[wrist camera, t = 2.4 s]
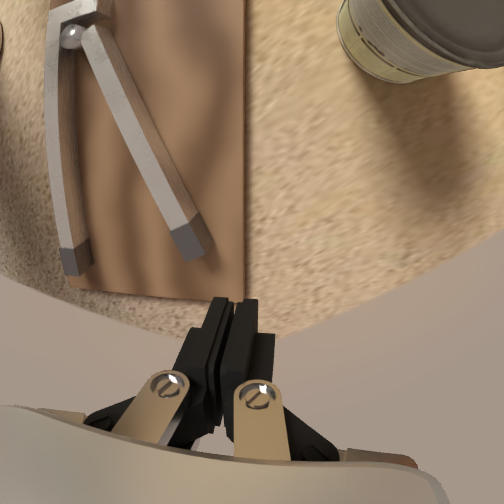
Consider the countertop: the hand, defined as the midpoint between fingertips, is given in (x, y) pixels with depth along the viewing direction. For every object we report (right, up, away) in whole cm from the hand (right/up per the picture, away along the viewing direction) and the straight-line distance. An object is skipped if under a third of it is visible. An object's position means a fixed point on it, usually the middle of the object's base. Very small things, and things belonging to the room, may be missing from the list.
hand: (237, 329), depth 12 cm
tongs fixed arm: (-16, +14, +15) cm, 26 cm away
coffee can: (+13, +23, +10) cm, 28 cm away
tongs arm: (-10, +14, +14) cm, 22 cm away
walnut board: (-11, +15, +16) cm, 24 cm away
